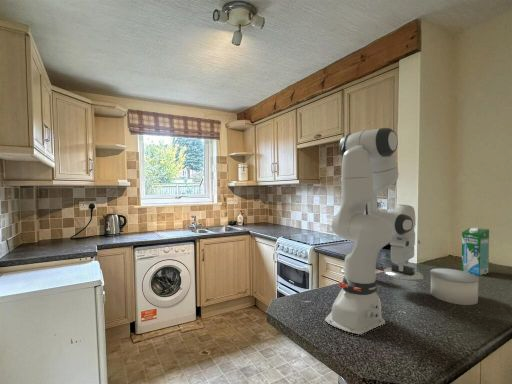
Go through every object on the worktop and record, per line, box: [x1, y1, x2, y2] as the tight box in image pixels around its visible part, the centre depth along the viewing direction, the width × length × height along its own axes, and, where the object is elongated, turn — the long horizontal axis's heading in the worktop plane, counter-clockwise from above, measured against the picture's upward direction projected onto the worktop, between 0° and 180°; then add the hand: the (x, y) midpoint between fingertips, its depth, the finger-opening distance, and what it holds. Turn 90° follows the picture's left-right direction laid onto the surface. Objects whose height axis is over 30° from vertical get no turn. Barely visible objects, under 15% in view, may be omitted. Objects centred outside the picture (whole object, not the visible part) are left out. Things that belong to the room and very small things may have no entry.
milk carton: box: [461, 227, 490, 276], centre depth 155 cm, size 9×9×25 cm
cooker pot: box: [429, 267, 480, 306], centre depth 122 cm, size 18×18×10 cm
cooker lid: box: [383, 263, 424, 282], centre depth 126 cm, size 16×16×4 cm
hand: (403, 270), depth 126 cm, fingers closed on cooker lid, 3 cm apart
